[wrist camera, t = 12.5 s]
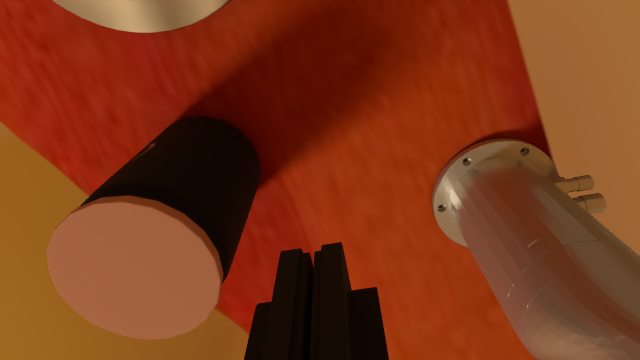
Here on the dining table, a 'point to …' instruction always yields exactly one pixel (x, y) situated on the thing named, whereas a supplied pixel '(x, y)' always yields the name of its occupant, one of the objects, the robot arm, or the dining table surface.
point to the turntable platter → (143, 13)
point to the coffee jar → (159, 232)
